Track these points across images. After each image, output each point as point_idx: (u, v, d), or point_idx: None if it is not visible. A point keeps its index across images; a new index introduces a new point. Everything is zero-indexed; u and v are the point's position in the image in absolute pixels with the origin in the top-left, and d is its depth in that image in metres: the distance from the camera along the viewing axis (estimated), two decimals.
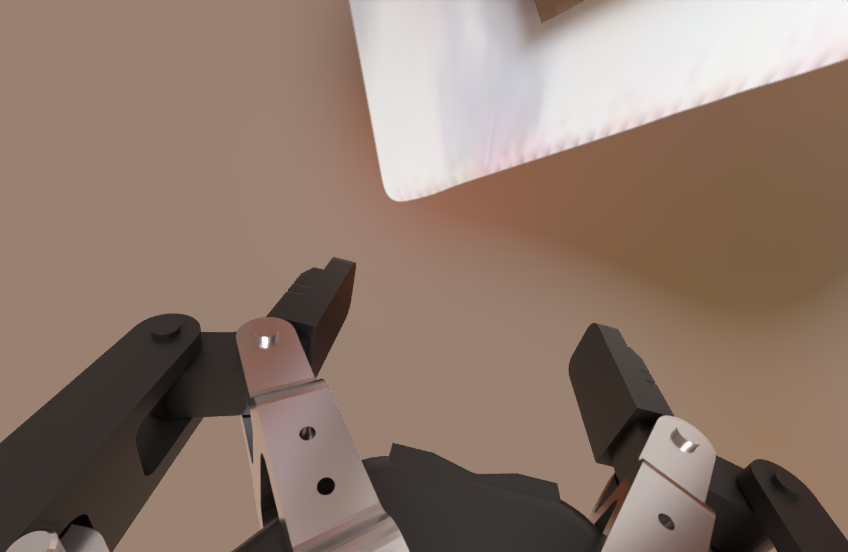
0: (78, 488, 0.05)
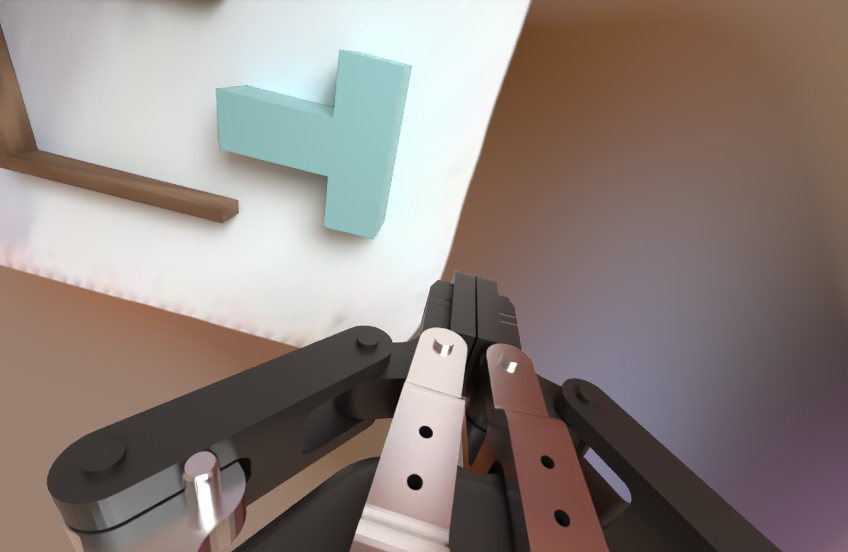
0: (252, 436, 0.07)
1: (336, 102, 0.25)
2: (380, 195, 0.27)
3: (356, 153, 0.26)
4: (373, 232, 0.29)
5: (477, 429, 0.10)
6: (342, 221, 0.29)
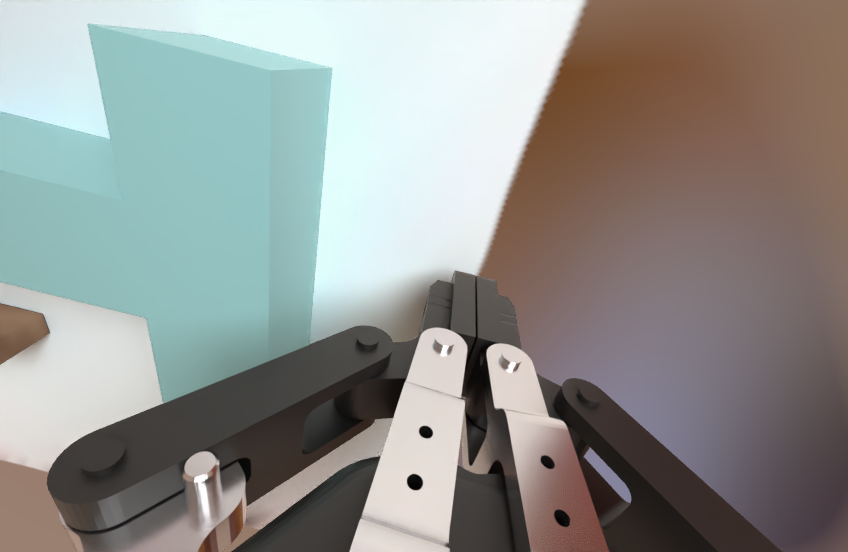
0: (251, 437, 0.06)
1: (120, 163, 0.10)
2: (267, 356, 0.12)
3: (197, 276, 0.11)
4: None
5: (477, 429, 0.10)
6: None
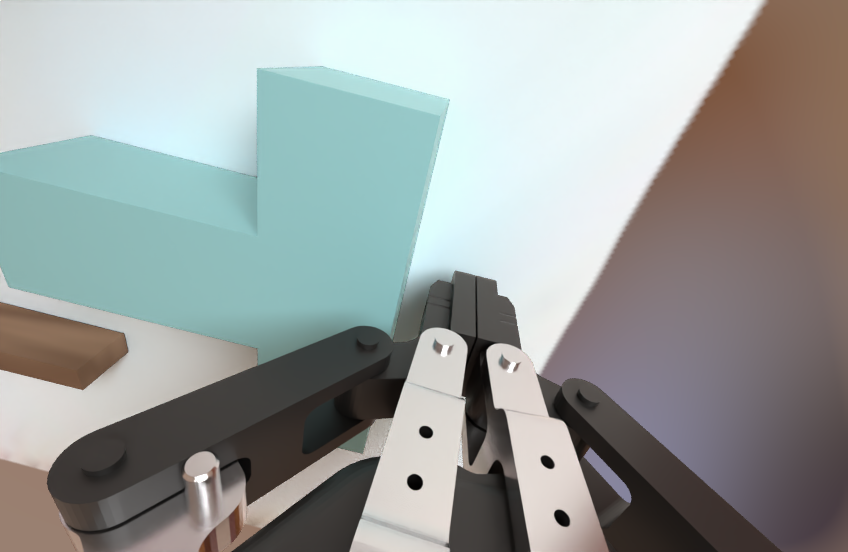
0: (251, 436, 0.06)
1: (262, 201, 0.09)
2: None
3: (320, 310, 0.11)
4: (362, 443, 0.14)
5: (477, 429, 0.10)
6: None
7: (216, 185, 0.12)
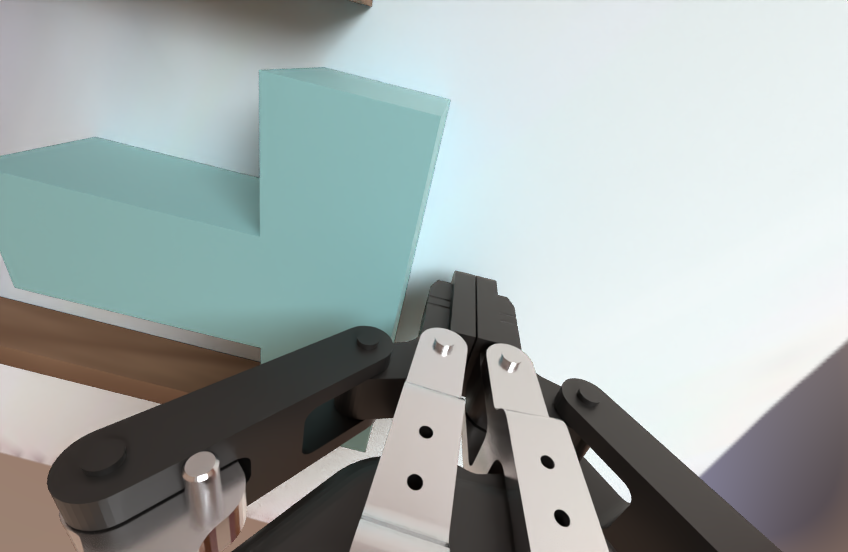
0: (252, 437, 0.07)
1: (264, 202, 0.10)
2: None
3: (322, 309, 0.11)
4: (364, 442, 0.14)
5: (477, 429, 0.10)
6: None
7: (219, 186, 0.12)
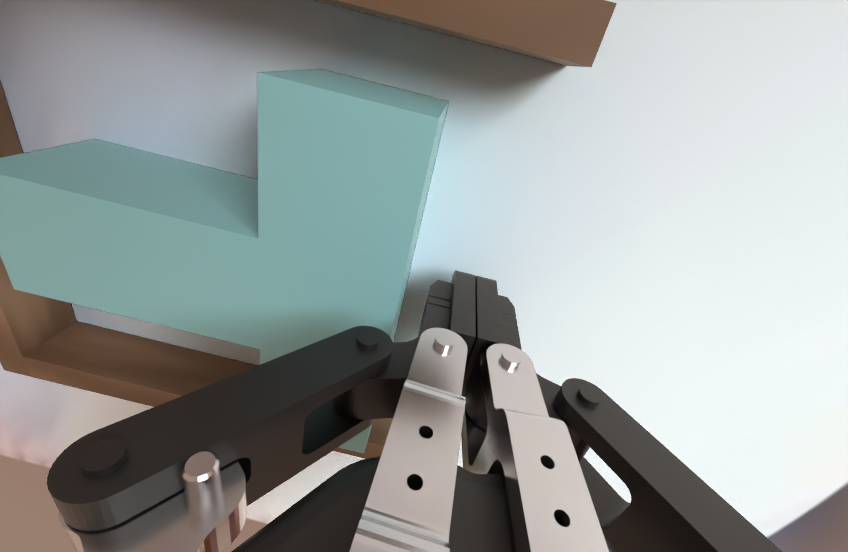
0: (251, 437, 0.07)
1: (262, 204, 0.10)
2: None
3: (320, 311, 0.11)
4: (363, 443, 0.14)
5: (477, 429, 0.10)
6: None
7: (218, 187, 0.12)
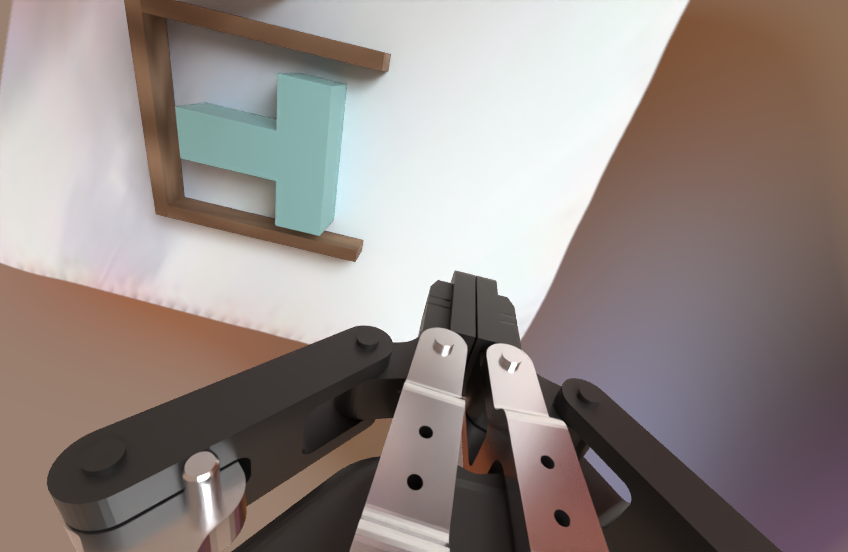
0: (252, 436, 0.07)
1: (278, 117, 0.29)
2: (322, 196, 0.31)
3: (298, 160, 0.30)
4: (318, 229, 0.33)
5: (477, 429, 0.10)
6: (291, 220, 0.33)
7: (259, 119, 0.31)
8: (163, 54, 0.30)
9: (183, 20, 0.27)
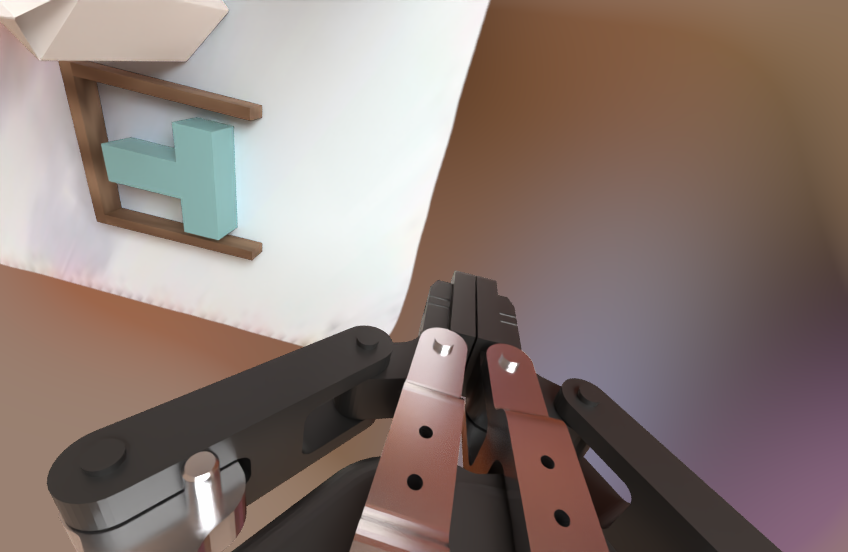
0: (251, 437, 0.06)
1: (176, 152, 0.39)
2: (216, 211, 0.41)
3: (195, 184, 0.40)
4: (217, 235, 0.43)
5: (477, 429, 0.10)
6: (195, 228, 0.43)
7: (168, 151, 0.41)
8: (94, 102, 0.40)
9: (103, 82, 0.37)
